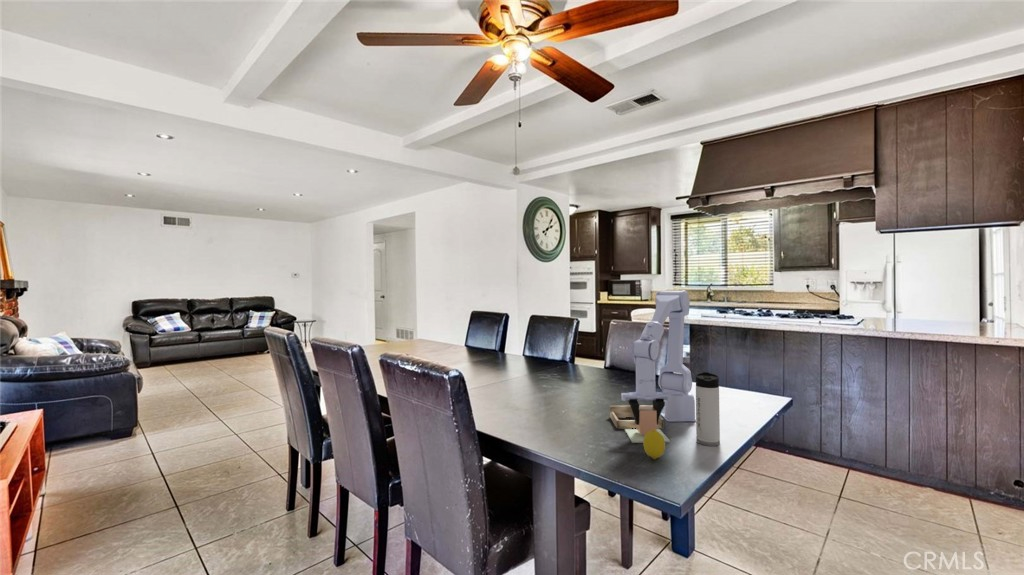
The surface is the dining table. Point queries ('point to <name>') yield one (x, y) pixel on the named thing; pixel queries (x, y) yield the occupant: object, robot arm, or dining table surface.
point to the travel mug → (707, 409)
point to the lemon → (654, 444)
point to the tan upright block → (647, 419)
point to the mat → (641, 435)
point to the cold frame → (627, 412)
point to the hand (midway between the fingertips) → (646, 423)
